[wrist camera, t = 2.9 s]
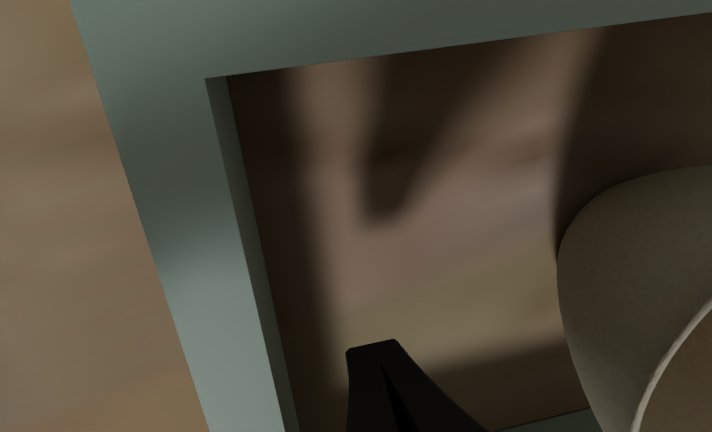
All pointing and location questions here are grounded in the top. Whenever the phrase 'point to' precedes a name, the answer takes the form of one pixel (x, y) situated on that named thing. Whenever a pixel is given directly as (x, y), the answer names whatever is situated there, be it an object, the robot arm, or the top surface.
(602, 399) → the flower pot
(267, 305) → the cold frame
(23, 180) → the top surface
